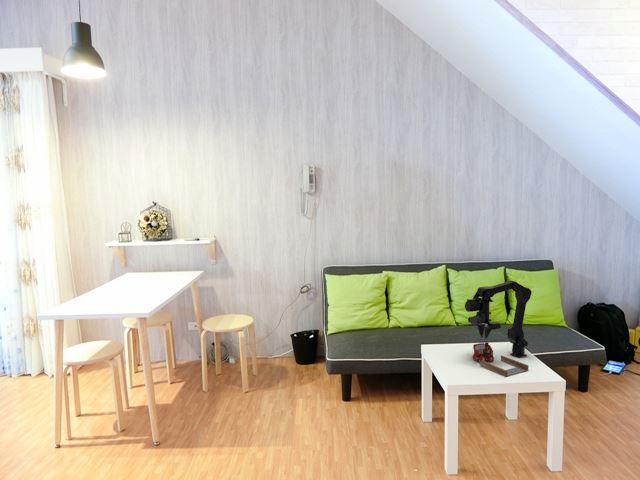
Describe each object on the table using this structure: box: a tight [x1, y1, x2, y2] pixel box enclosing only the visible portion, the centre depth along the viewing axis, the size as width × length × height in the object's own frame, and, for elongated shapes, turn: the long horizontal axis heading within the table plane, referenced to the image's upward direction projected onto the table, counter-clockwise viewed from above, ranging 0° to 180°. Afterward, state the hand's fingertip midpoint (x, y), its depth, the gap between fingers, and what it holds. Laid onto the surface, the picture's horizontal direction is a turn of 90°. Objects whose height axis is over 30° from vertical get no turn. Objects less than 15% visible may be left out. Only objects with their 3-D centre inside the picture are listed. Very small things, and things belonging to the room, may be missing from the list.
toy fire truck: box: [472, 341, 495, 363], centre depth 248 cm, size 7×12×10 cm, turn 108°
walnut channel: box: [479, 355, 529, 378], centre depth 237 cm, size 16×17×3 cm
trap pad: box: [506, 367, 527, 377], centre depth 232 cm, size 13×6×1 cm, turn 116°
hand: (483, 337), depth 248 cm, fingers open, 3 cm apart
